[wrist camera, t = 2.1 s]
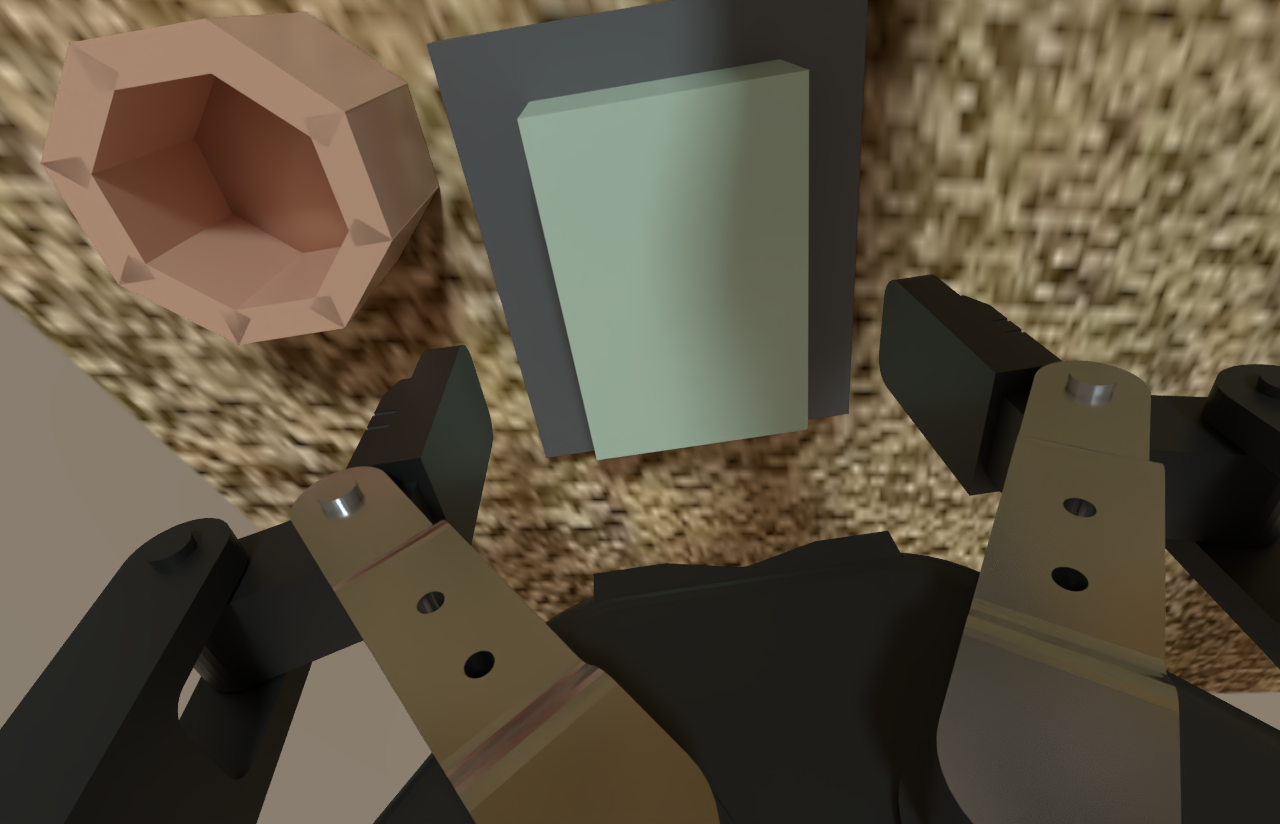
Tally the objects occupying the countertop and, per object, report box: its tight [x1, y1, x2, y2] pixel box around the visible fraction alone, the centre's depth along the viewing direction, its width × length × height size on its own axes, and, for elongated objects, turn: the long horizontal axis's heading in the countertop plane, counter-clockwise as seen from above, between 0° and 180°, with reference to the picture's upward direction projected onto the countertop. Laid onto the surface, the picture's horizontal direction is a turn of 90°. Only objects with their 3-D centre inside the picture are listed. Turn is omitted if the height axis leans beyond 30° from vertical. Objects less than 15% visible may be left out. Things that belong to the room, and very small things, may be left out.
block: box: [517, 59, 809, 460], centre depth 16 cm, size 6×9×2 cm, turn 8°
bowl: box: [41, 12, 439, 345], centre depth 15 cm, size 6×6×4 cm
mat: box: [427, 0, 868, 458], centre depth 18 cm, size 10×12×1 cm
